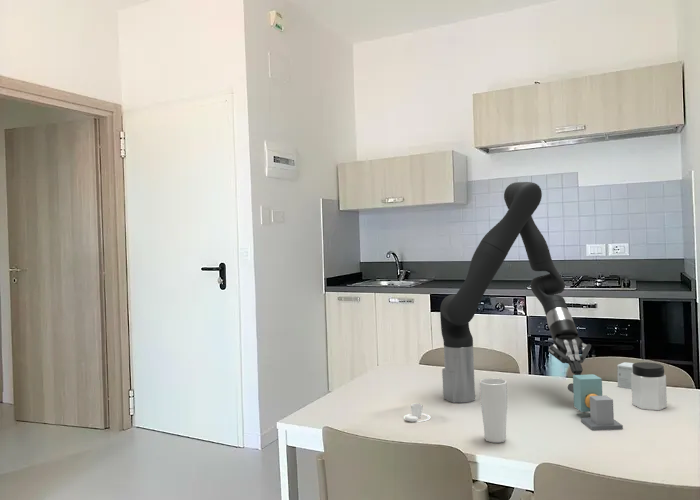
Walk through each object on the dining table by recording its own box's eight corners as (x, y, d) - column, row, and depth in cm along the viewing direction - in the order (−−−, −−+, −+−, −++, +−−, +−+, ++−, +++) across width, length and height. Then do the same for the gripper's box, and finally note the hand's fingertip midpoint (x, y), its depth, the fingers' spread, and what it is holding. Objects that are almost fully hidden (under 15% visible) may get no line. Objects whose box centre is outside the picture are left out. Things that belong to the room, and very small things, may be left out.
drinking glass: (478, 436, 143) (475, 378, 143) (503, 434, 144) (501, 376, 144) (486, 445, 137) (484, 385, 136) (513, 443, 137) (511, 383, 137)
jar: (655, 412, 156) (654, 370, 156) (627, 406, 163) (625, 365, 162) (671, 406, 161) (670, 365, 161) (643, 400, 168) (642, 360, 167)
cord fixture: (622, 429, 144) (621, 400, 144) (592, 430, 144) (591, 401, 144) (585, 403, 167) (584, 378, 167) (558, 404, 167) (558, 379, 167)
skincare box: (617, 387, 183) (616, 364, 183) (624, 383, 187) (624, 361, 187) (636, 390, 178) (635, 367, 178) (643, 386, 183) (643, 363, 182)
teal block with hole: (603, 411, 153) (601, 378, 153) (581, 411, 153) (580, 379, 153) (595, 405, 158) (593, 374, 158) (574, 406, 158) (572, 375, 158)
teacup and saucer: (410, 426, 155) (410, 411, 155) (395, 418, 162) (395, 404, 162) (436, 420, 159) (435, 405, 159) (420, 413, 166) (420, 399, 166)
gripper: (542, 319, 170) (558, 367, 158) (586, 317, 170) (605, 366, 158) (537, 333, 176) (552, 381, 164) (579, 331, 175) (597, 379, 163)
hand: (578, 373), depth 161 cm, fingers closed
